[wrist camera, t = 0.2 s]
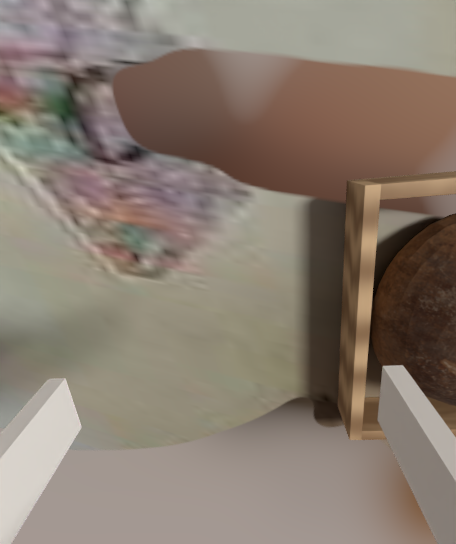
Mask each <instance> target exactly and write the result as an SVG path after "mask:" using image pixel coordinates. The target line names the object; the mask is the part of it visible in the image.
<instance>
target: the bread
mask: <svg viewBox="0 0 456 544" xmlns="http://www.w3.org/2000/svg"><path fill="white" fill-rule="evenodd" d="M370 334H371V342H372V346H373V349H374V352H375V355H376V357H377V358H378V360H379V362H380V364H381V366H382V367H383V366H394V365H403V366H404V367H405V369H406V370H407V371H408V373H409V374H410V376H411V377H412V378H413V380H414V381H415V382H416V384H417V385H418V386H419V388H420V389H421V391H422V392H423V393H424V395H425V396H427V397H430V398H432V399H435V400H438V401H441V402H443V403H446V404H449V405H453V406H456V214H452V215H449V216H447V217H445V218H443V219H441V220H439V221H437V222H434V223H432V224H430V225H429V226H428V227H426V228H425V229H424V230H422V231H421V232H420V233H418V234H417V235H416V236H415V237H413V238H412V239H411V240H410V241H409V242H408V243H407V244H406V245H405V246H404V247H403V248H402V249H401V250H400V251H399V252H398V253H397V255H396V256H395V257H394V259H393V260H392V262H391V263H390V265H389V266H388V267H387V269H386V271H385V273H384V275H383V277H382V279H381V281H380V284H379V286H378V289H377V292H376V295H375V297H374V301H373V305H372V309H371V321H370Z"/></svg>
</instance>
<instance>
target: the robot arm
mask: <svg viewBox="0 0 456 544" xmlns="http://www.w3.org/2000/svg"><path fill="white" fill-rule="evenodd" d="M378 422H379V424H380V426H381V428H382V430H383V432H384V434H385V436H386V438H387V441H388V443H389V445H390V447H391V449H392V451H393V453H394V455H395V457H396V459H397V461H398V463H399V465H400V467H401V469H402V471H403V473H404V476H405V478H406V480H407V482H408V484H409V486H410V488H411V490H412V492H413V494H414V496H415V498H416V500H417V502H418V504H419V506H420V508H421V510H422V513H423V515H424V517H425V519H426V521H427V523H428V525H429V527H430V529H431V531H432V533H433V535H434V537H435V539H436V541H437V543H438V544H456V437H455V436H454V434H453V433H452V432H451V430H450V429H449V428H448V426H447V425H446V423H445V422H444V421H443V419H442V418H441V417H440V415H439V414H438V412H437V411H436V410H435V408H434V407H433V406H432V404H431V403H430V402H429V400H428V399H427V397H426V396H425V395H424V393H423V392H422V391H421V389H420V388H419V386H418V385H417V384H416V382H415V381H414V380H413V378H412V377H411V376H410V374H409V373H408V371H407V370H406V369H405V367H404V366H403V365H394V366H383V367H382V378H381V388H380V399H379V410H378ZM80 429H81V424H80V421H79V418H78V415H77V412H76V409H75V406H74V403H73V400H72V397H71V394H70V391H69V388H68V385H67V381H66V378H56V379H48V380H47V381H46V382H45V383H44V384H43V386H42V387H41V388H40V389H39V390H38V391H37V392H36V394H35V395H34V396H33V397H32V398H31V399H30V400H29V402H28V403H27V404H26V405H25V406H24V407H23V408H22V409H21V411H20V412H19V413H18V414H17V415H16V416H15V417H14V419H13V420H12V421H11V422H10V423H9V424H8V425H7V427H6V428H5V429H4V430H3V431H2V432H1V433H0V544H11V543H12V541H13V540H14V538H15V537H16V535H17V533H18V532H19V530H20V528H21V527H22V525H23V523H24V522H25V520H26V518H27V517H28V515H29V513H30V512H31V510H32V509H33V507H34V505H35V504H36V502H37V500H38V499H39V497H40V495H41V494H42V492H43V490H44V489H45V487H46V485H47V483H48V482H49V480H50V479H51V477H52V475H53V474H54V472H55V470H56V469H57V467H58V465H59V464H60V462H61V460H62V459H63V457H64V456H65V454H66V452H67V451H68V449H69V447H70V446H71V444H72V442H73V441H74V439H75V437H76V436H77V434H78V432H79V431H80Z"/></svg>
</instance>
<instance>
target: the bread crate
mask: <svg viewBox="0 0 456 544" xmlns="http://www.w3.org/2000/svg"><path fill="white" fill-rule="evenodd" d="M449 194H456V171H454V172H443V173H430V174H419V175H407V176H395V177H384V178H371V179H360V180H349V181H347V194H346V218H345V242H344V266H343V290H342V315H341V339H340V363H339V387H338V408H339V411H340V414H341V417H342V420H343V422H344V425H345V428H346V431H347V434H348V436H349V439H350V440H371V439H372V440H374V439H387V438H386V436H385V434H384V432H383V430H382V428H381V426H380V424H379V422H378V410H379V399H380V397H369V398H365V386H366V373H367V360H368V347H369V334H370V321H371V309H372V296H373V283H374V270H375V257H376V244H377V232H378V219H379V206H380V200H386V199H399V198H411V197H424V196H437V195H449ZM426 397H427V396H426ZM427 399H428V400H429V402H430V403H431V404H432V406H433V407H434V408H435V410H436V411H437V412H438V414H439V415H440V417H441V418H442V419H443V421H444V422H445V423H446V425H447V426H448V428H449V429H450V430H451V432H452V433H453V434H454V436H455V437H456V406H453V405H449V404H446V403H443V402H441V401H438V400H435V399H432V398H430V397H427Z"/></svg>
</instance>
